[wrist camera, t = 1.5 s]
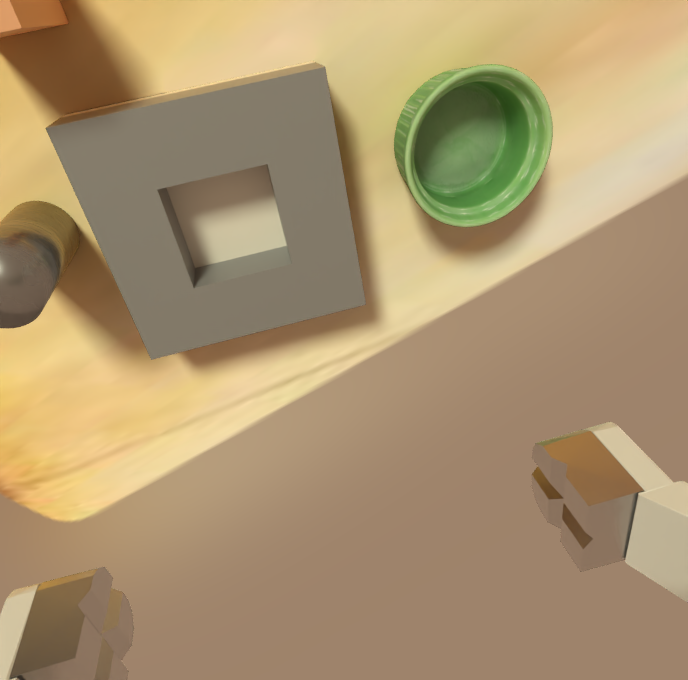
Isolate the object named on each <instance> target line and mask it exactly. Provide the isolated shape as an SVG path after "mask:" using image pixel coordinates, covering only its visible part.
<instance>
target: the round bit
mask: <svg viewBox="0 0 688 680" xmlns="http://www.w3.org/2000/svg"><path fill="white" fill-rule="evenodd" d="M79 242H80V236H79V231H78V228H77V226H76V224H75V222H74V221H73V219H72V218H71V217H70V216H69V215H68V214H67V213H66V212H65V211H64V210H62V209H61V208H59V207H57V206H55V205H53V204H50V203H47V202H42V201H30V202H25V203H22V204H20V205H18V206H17V207H15V208H14V209H13V210H12V211H11V212H10V213H9V214H8V215H7V216H6V217H5V218H4V219H3V220H2V221H1V222H0V328H16V327H21V326H24V325H26V324H29V323H30V322H32V321H34V320H35V319H36V318H37V317H38V316H39V315H40V313H41V312H42V310H43V308H44V307H45V305H46V303H47V301H48V300H49V298H50V296H51V294H52V293H53V291H54V289H55V287H56V286H57V284H58V282H59V281H60V279H61V277H62V275H63V274H64V272H65V270H66V268H67V267H68V265H69V263H70V261H71V260H72V258H73V256H74V255H75V253H76V251H77V249H78V247H79Z"/></svg>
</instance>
